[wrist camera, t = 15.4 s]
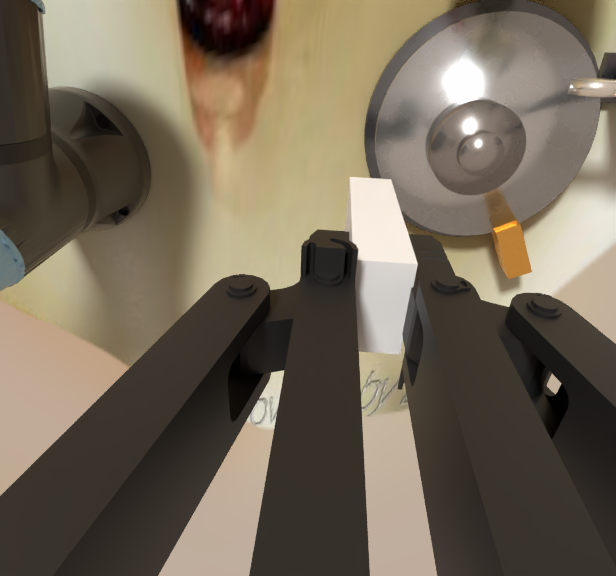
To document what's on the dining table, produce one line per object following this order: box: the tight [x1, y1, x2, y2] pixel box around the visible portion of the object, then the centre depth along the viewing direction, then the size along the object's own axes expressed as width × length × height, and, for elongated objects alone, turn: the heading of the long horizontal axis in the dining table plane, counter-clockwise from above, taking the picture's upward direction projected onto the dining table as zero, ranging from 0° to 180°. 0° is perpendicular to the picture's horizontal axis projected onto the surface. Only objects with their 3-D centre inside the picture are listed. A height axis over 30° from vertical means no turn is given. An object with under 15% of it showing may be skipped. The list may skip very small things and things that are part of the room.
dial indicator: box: [568, 53, 616, 102], centre depth 34 cm, size 10×4×11 cm, turn 90°
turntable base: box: [364, 0, 601, 236], centre depth 42 cm, size 22×22×1 cm
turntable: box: [375, 11, 600, 279], centre depth 41 cm, size 20×26×3 cm
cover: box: [425, 97, 526, 196], centre depth 38 cm, size 8×8×5 cm
